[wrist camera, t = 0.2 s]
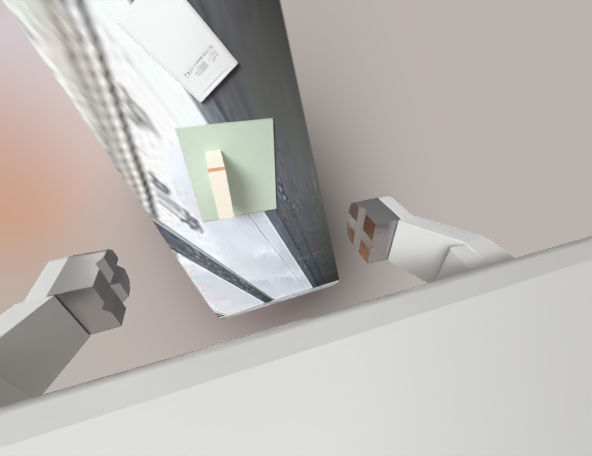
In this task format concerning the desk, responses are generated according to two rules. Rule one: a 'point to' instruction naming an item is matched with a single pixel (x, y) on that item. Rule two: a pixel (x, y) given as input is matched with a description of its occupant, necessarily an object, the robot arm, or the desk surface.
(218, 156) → the card box
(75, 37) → the desk surface
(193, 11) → the external hard drive
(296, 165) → the desk surface
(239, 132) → the mat
